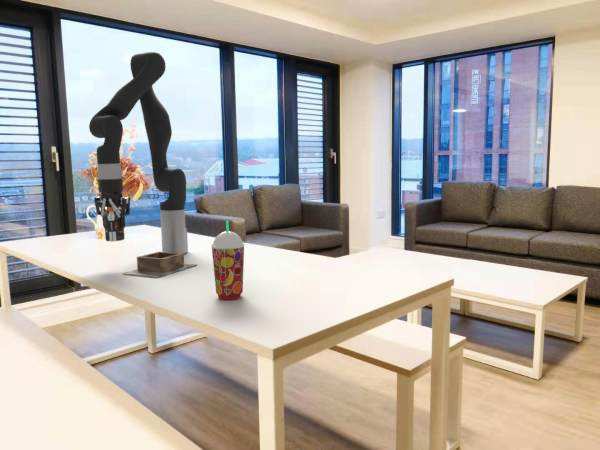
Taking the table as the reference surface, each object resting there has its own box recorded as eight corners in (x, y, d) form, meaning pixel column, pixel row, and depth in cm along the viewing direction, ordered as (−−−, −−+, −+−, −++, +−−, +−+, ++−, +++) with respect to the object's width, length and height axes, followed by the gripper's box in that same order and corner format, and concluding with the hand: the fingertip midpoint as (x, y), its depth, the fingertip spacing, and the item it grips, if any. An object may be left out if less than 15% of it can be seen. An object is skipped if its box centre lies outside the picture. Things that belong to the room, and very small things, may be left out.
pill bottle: (118, 241, 159) (115, 207, 158) (102, 241, 160) (99, 207, 159) (128, 238, 165) (125, 205, 163) (112, 238, 166) (109, 205, 165)
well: (165, 262, 172) (164, 249, 172) (197, 265, 166) (196, 251, 166) (122, 274, 154) (121, 259, 154) (156, 278, 148) (156, 262, 148)
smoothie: (214, 293, 129) (212, 219, 127) (246, 292, 130) (244, 218, 128) (211, 302, 121) (208, 222, 119) (245, 301, 122) (243, 222, 119)
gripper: (135, 177, 160) (138, 227, 162) (103, 177, 166) (107, 225, 169) (117, 178, 153) (121, 230, 156) (85, 178, 159) (89, 228, 162)
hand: (114, 227), depth 162 cm, fingers closed on pill bottle, 6 cm apart
